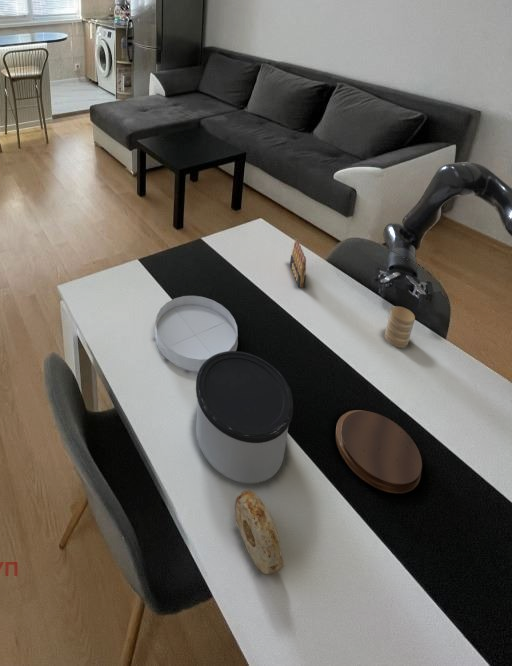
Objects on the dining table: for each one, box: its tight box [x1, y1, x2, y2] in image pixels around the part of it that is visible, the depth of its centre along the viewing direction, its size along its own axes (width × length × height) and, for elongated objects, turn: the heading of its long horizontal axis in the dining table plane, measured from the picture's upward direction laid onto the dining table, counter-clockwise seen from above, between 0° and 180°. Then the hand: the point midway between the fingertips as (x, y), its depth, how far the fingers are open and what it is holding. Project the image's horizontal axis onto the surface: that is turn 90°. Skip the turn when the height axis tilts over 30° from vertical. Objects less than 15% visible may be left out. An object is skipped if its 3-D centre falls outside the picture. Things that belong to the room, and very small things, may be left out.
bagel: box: [233, 489, 285, 575], centre depth 73 cm, size 10×4×10 cm, turn 19°
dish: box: [154, 295, 239, 373], centre depth 116 cm, size 22×22×5 cm
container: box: [195, 350, 294, 484], centre depth 89 cm, size 19×19×15 cm
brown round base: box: [335, 409, 423, 495], centre depth 87 cm, size 15×15×4 cm
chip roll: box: [384, 305, 416, 348], centre depth 111 cm, size 5×5×10 cm
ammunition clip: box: [289, 238, 307, 289], centre depth 134 cm, size 11×2×12 cm, turn 172°
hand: (401, 300), depth 116 cm, fingers open, 8 cm apart
